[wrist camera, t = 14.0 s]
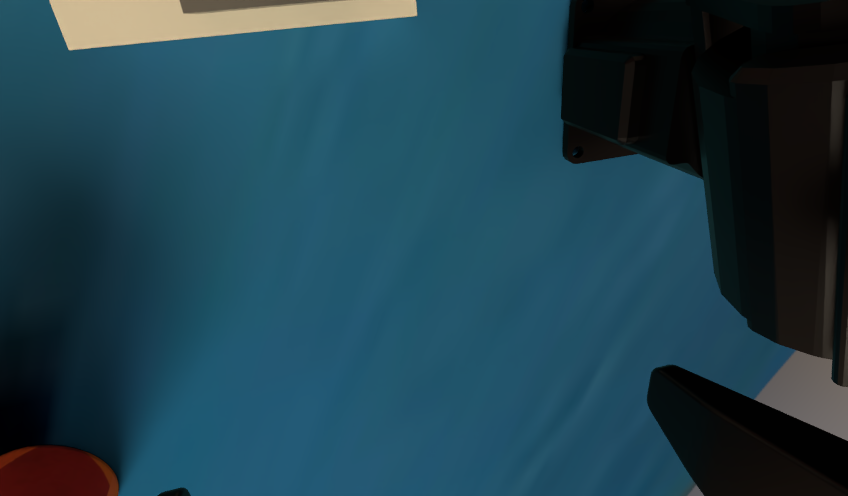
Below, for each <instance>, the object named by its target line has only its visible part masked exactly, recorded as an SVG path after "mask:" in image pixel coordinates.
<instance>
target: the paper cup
mask: <svg viewBox="0 0 848 496" xmlns="http://www.w3.org/2000/svg"><path fill="white" fill-rule="evenodd" d="M118 490H119V484H118V480H117V477H116V475H115V473H114V471H113V470H112V469H111V467H110V466H109V465H108V464H107V463H105V462H104V461H103V460H101V459H100V458H98V457H96V456H95V455H93V454H91V453H88V452H86V451H83V450H80V449H76V448H72V447H66V446H59V445H37V446H29V447H24V448H20V449H16V450H13V451H10V452H7V453H5V454H3V455H1V456H0V496H118Z"/></svg>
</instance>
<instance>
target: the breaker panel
mask: <svg viewBox="0 0 848 496" xmlns="http://www.w3.org/2000/svg"><path fill="white" fill-rule="evenodd" d="M49 1H50V4H51V6H52V9H53V11H54V14H55V16H56V19H57V21H58V24H59V26H60V29H61V31H62V34H63V36H64V39H65V42H66V44H67V47H68V49H69V50H76V49H86V48H96V47H106V46H116V45H126V44H137V43H147V42H157V41H167V40H177V39H187V38H197V37H207V36H218V35H228V34H238V33H248V32H258V31H268V30H278V29H288V28H299V27H309V26H319V25H329V24H339V23H349V22H359V21H369V20H380V19H390V18H400V17H410V16H417V8H416V0H49Z"/></svg>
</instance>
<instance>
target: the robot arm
mask: <svg viewBox="0 0 848 496" xmlns="http://www.w3.org/2000/svg"><path fill="white" fill-rule="evenodd" d="M583 1H584V0H571V4H570V12H569V32H568V50H567V52H566V53H565V55H564V64H563V85H562V106H561V119H562V120H563V121H564V132H563V156H564V158H565V159H566V160H568V161H570V162H571V163H573V164H578V163H585V162H591V161H597V160H603V159H609V158H615V157H621V156H627V155H634V154H641V155H643V156H646V157H648V158H651V159H653V160H656V161H658V162H661V163H663V164H666V165H668V166H671V167H673V168H676V169H678V170H680V171H683V172H685V173H688V174H690V175H693V176H695V177H698V178H700V179H703V180H704V188H705V197H706V205H707V214H708V223H709V231H710V240H711V249H712V258H713V266H714V274H715V277H716V279H717V282H718V285H719V288H720V291H721V294H722V295H723V296H724V297H725V298H726V299H727V300H728V301H729V302H730V303H731V305H732V306H733V307H734V308H735V309H736V310H737V311H738V312H739V313H740V314H741V315H742V316H744V317H745V318H747V324H748V327H749V328H750V329H751V330H752V331H754V332H756V333H758V334H760V335H762V336H764V337H766V338H767V339H769V340H771V341H773V342H775V343H777V344H780V345H783V346H786V347H789V348H792V349H795V350H798V351H801V352H804V353H807V354H810V355H813V356H817V357H821V358H826V359H832V360H833V361H832V378H831V379H832V380H833V382H834V383H836V384H837V385H840V386H843V387H848V0H587V1H588V8H587V10H586V11H585V12H583V11H582V8H581V5H582V2H583ZM575 147H579V150H578V152H577V154H576V155H574V156H573V150H574V149H575ZM647 403H648V406H649V409H650V411H651V412H652V414H653V416H654V417H655V419H656V421H657V422H658V424H659V426H660V427H661V429H662V431H663V432H664V434H665V436H666V437H667V439H668V440H669V442H670V444H671V445H672V447H673V449H674V450H675V452H676V454H677V455H678V457H679V459H680V460H681V462H682V464H683V465H684V467H685V468H686V470H687V471H688V473H689V475H690V476H691V478H692V479H693V481H694V482H695V483H696V485H697V486H698V487H699V489H700V490H701V492H702V493H703V495H704V496H848V441H846V440H844V439H842V438H840V437H837V436H835V435H833V434H830V433H828V432H826V431H824V430H822V429H819V428H817V427H815V426H812V425H810V424H808V423H806V422H803V421H801V420H799V419H797V418H794V417H792V416H789V415H787V414H785V413H783V412H781V411H778V410H776V409H774V408H772V407H769V406H767V405H765V404H762V403H760V402H758V401H756V400H753V399H751V398H749V397H747V396H744V395H742V394H740V393H737V392H735V391H733V390H731V389H728V388H726V387H724V386H722V385H719V384H717V383H715V382H713V381H710V380H708V379H706V378H703V377H701V376H699V375H697V374H694V373H692V372H690V371H688V370H685V369H683V368H681V367H678V366H676V365H666V366H662V367H658V368H655V369H654V370H653V371H652V372H651V377H650V382H649V388H648V394H647ZM158 496H191V495H190V493H189V492H188V490H187V489H186V488H177V489H173V490H169V491H165V492H162V493H160V494H159V495H158Z"/></svg>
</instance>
